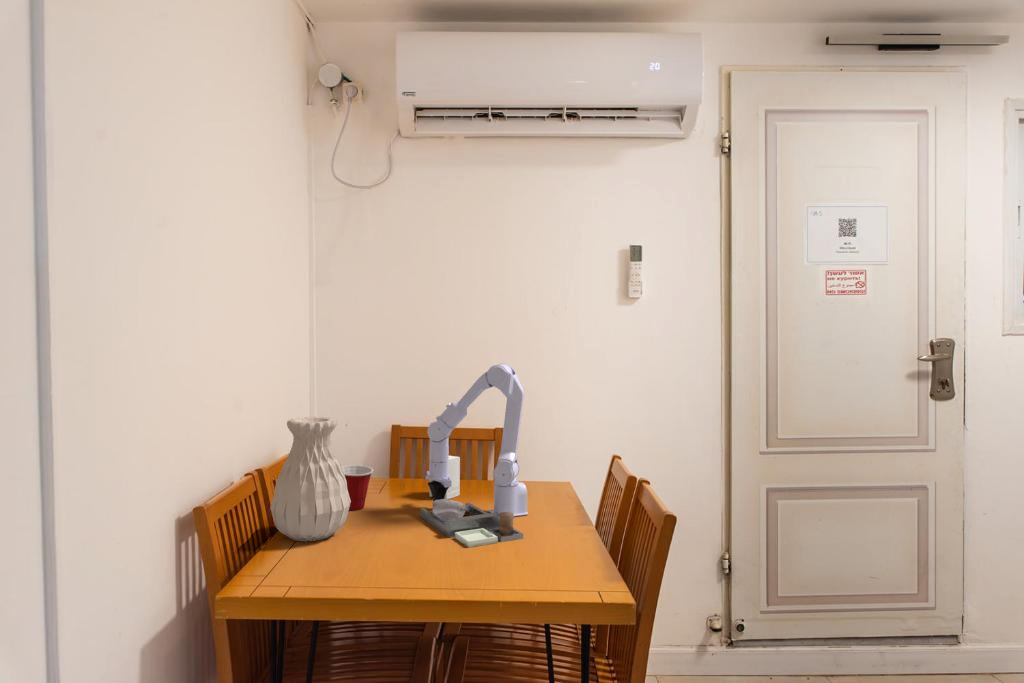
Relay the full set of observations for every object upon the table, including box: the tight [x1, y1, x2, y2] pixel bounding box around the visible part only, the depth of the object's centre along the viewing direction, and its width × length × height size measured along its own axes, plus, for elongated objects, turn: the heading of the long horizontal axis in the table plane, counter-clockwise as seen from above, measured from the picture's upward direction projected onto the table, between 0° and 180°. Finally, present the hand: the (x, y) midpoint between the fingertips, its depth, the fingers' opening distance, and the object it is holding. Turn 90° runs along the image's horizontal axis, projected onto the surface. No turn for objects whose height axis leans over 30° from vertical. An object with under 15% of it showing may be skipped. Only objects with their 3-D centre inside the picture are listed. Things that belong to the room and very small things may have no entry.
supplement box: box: [428, 455, 461, 500], centre depth 213 cm, size 7×7×13 cm
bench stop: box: [419, 502, 500, 539], centre depth 183 cm, size 15×21×4 cm
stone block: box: [431, 499, 467, 522], centre depth 189 cm, size 12×5×10 cm
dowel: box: [499, 512, 514, 536], centre depth 172 cm, size 4×4×6 cm
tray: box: [454, 528, 499, 548], centre depth 168 cm, size 8×8×2 cm
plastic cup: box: [341, 464, 374, 512], centre depth 196 cm, size 11×11×12 cm
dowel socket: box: [489, 527, 524, 543], centre depth 172 cm, size 7×7×1 cm
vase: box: [270, 416, 351, 542], centre depth 171 cm, size 20×20×30 cm
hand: (438, 506), depth 197 cm, fingers closed
